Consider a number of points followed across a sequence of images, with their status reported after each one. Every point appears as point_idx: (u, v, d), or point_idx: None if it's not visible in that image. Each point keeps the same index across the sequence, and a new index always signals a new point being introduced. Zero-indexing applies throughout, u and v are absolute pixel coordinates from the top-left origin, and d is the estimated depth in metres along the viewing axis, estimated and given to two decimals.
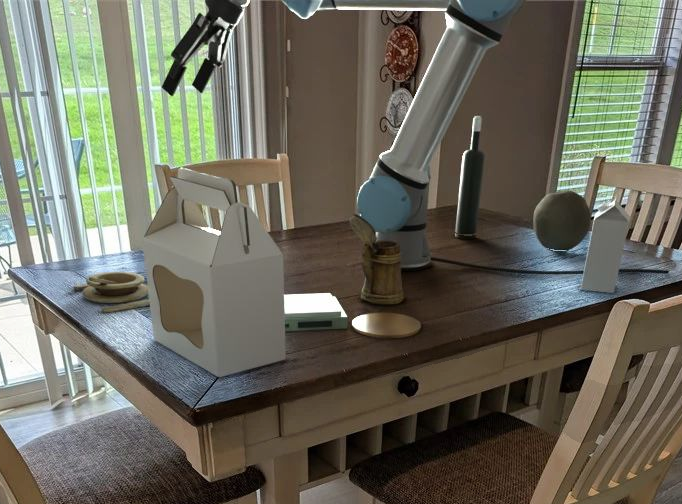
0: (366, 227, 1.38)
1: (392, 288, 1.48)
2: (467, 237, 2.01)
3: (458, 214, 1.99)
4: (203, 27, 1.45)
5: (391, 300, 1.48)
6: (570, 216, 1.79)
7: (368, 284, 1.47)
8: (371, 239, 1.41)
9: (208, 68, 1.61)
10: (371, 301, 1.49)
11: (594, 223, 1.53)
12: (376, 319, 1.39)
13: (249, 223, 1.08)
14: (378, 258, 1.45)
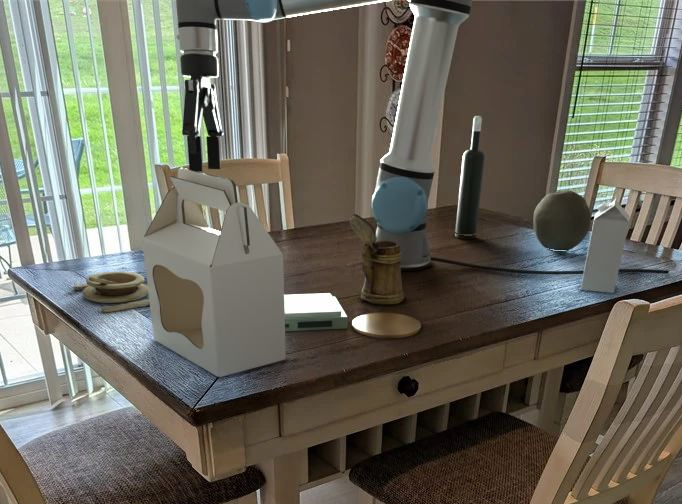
0: (366, 227, 1.38)
1: (392, 288, 1.48)
2: (467, 237, 2.01)
3: (458, 214, 1.99)
4: (195, 88, 1.43)
5: (391, 300, 1.48)
6: (570, 216, 1.79)
7: (368, 284, 1.47)
8: (371, 239, 1.41)
9: (214, 142, 1.59)
10: (371, 301, 1.49)
11: (594, 223, 1.53)
12: (376, 319, 1.39)
13: (249, 223, 1.08)
14: (378, 258, 1.45)
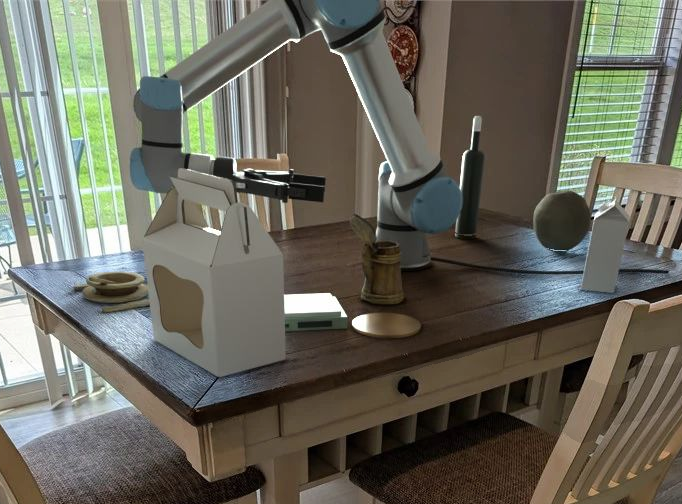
0: (366, 227, 1.38)
1: (392, 288, 1.48)
2: (467, 237, 2.01)
3: None
4: (243, 180, 1.33)
5: (391, 300, 1.48)
6: (570, 216, 1.79)
7: (368, 284, 1.47)
8: (371, 239, 1.41)
9: (298, 179, 1.45)
10: (371, 301, 1.49)
11: (594, 223, 1.53)
12: (376, 319, 1.39)
13: (249, 223, 1.08)
14: (378, 258, 1.45)
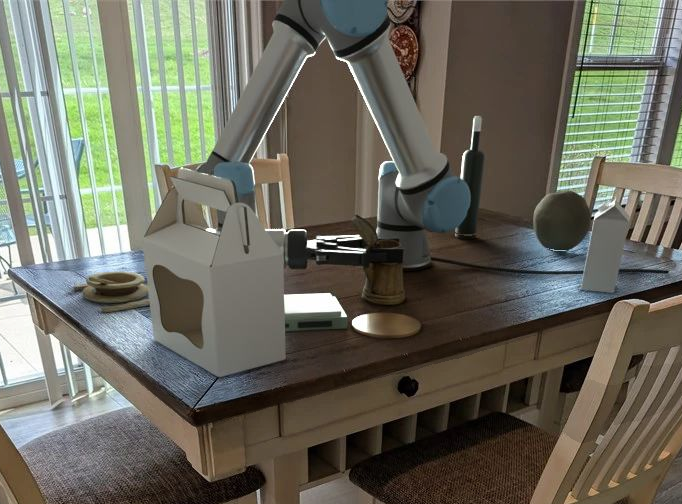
0: (367, 228, 1.37)
1: (393, 289, 1.47)
2: (467, 237, 2.01)
3: None
4: (324, 253, 1.39)
5: (391, 301, 1.48)
6: (570, 216, 1.79)
7: (369, 284, 1.47)
8: (372, 240, 1.40)
9: None
10: (371, 301, 1.49)
11: (594, 223, 1.53)
12: (376, 319, 1.39)
13: (249, 223, 1.08)
14: None
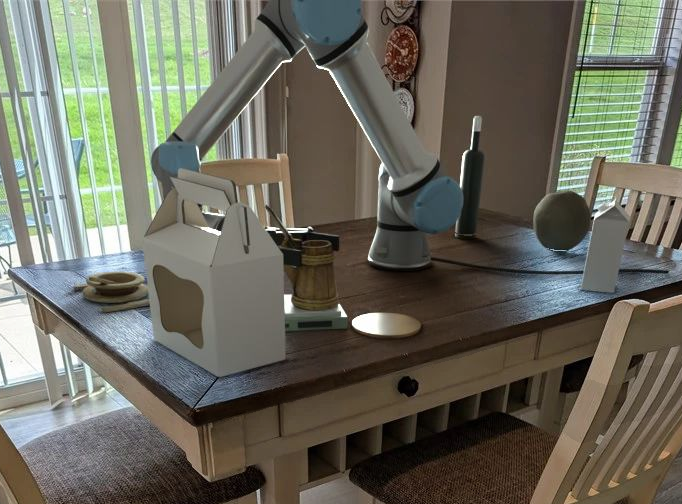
0: None
1: (312, 292, 1.34)
2: (467, 237, 2.01)
3: None
4: None
5: (309, 305, 1.35)
6: (570, 216, 1.79)
7: None
8: None
9: (313, 238, 1.39)
10: (292, 303, 1.37)
11: (594, 223, 1.53)
12: (376, 319, 1.39)
13: (249, 223, 1.08)
14: None
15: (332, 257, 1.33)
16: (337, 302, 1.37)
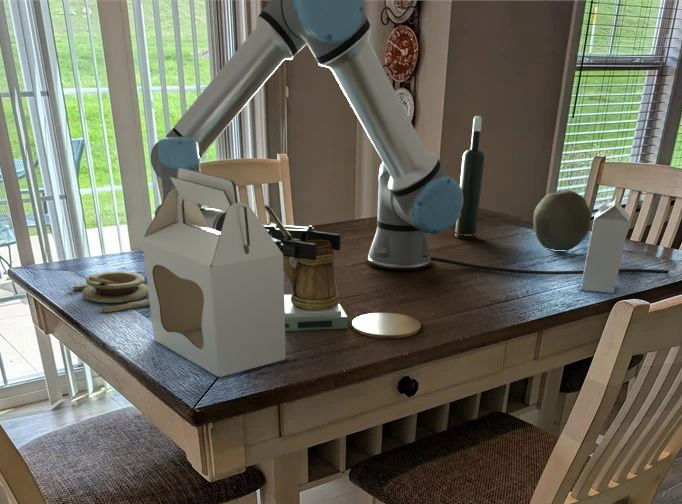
0: (273, 220, 1.27)
1: (312, 292, 1.34)
2: (467, 237, 2.01)
3: None
4: None
5: (309, 305, 1.35)
6: (570, 216, 1.79)
7: None
8: (283, 234, 1.29)
9: (313, 237, 1.36)
10: (292, 303, 1.37)
11: (594, 223, 1.53)
12: (376, 319, 1.39)
13: (249, 223, 1.08)
14: None
15: (332, 257, 1.33)
16: (337, 302, 1.37)
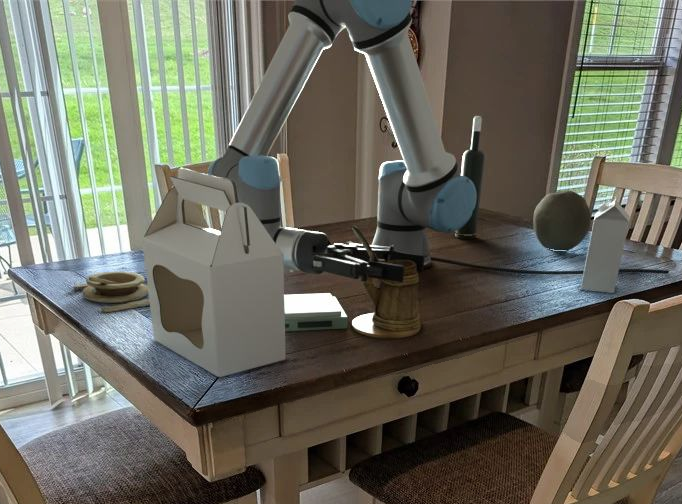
0: (361, 241, 1.26)
1: (396, 313, 1.32)
2: (467, 237, 2.01)
3: None
4: (320, 259, 1.30)
5: (392, 326, 1.33)
6: (570, 216, 1.79)
7: (374, 304, 1.34)
8: (370, 255, 1.28)
9: (396, 257, 1.34)
10: (374, 323, 1.35)
11: (594, 223, 1.53)
12: None
13: (249, 223, 1.08)
14: None
15: (417, 277, 1.31)
16: (419, 322, 1.36)
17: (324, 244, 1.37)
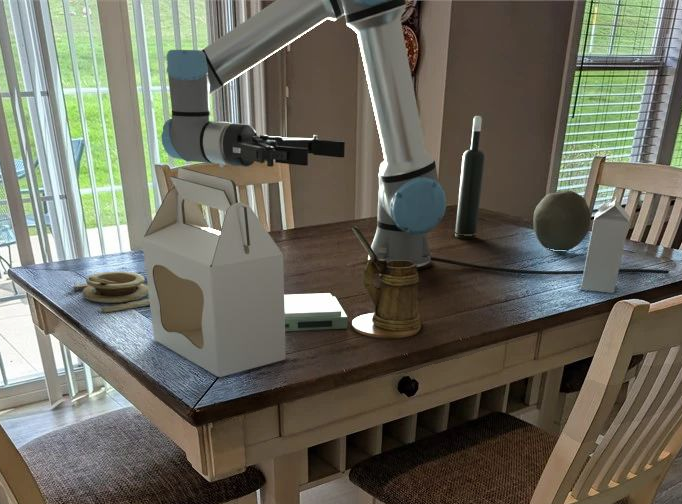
0: (361, 241, 1.26)
1: (396, 313, 1.32)
2: (467, 237, 2.01)
3: (458, 214, 1.99)
4: (237, 145, 1.34)
5: (392, 326, 1.33)
6: (570, 216, 1.79)
7: None
8: (370, 255, 1.28)
9: (318, 145, 1.41)
10: (374, 323, 1.35)
11: (594, 223, 1.53)
12: None
13: (249, 223, 1.08)
14: (383, 277, 1.30)
15: (417, 277, 1.31)
16: (419, 322, 1.36)
17: (250, 136, 1.41)
